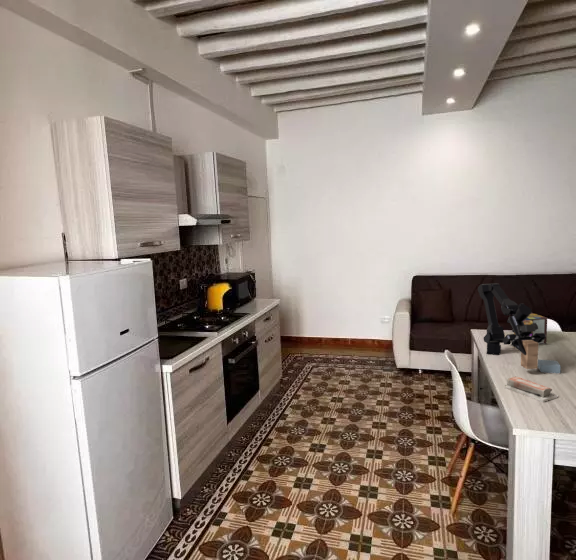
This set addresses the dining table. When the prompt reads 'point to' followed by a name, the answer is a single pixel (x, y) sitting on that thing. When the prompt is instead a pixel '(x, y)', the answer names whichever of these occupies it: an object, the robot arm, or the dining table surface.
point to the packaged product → (530, 389)
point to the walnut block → (530, 354)
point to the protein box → (539, 325)
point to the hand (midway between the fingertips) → (531, 354)
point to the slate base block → (548, 366)
